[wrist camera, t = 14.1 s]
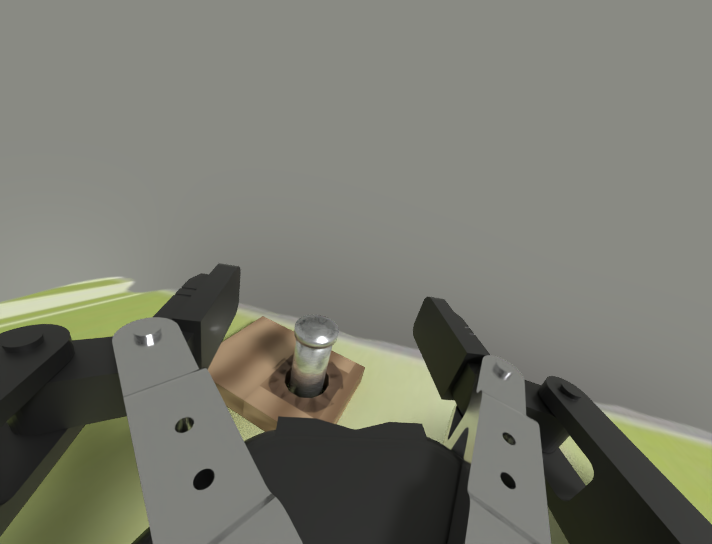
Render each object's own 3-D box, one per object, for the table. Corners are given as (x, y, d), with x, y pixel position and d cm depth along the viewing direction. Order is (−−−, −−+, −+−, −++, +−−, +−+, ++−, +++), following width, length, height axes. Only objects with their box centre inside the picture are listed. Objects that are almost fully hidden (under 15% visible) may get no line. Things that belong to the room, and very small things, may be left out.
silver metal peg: (276, 399, 36) (285, 329, 31) (299, 374, 40) (310, 309, 36) (309, 419, 34) (324, 349, 29) (329, 390, 39) (345, 326, 34)
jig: (188, 380, 35) (187, 364, 34) (261, 329, 48) (262, 316, 46) (313, 463, 30) (317, 447, 28) (360, 381, 42) (365, 367, 41)
